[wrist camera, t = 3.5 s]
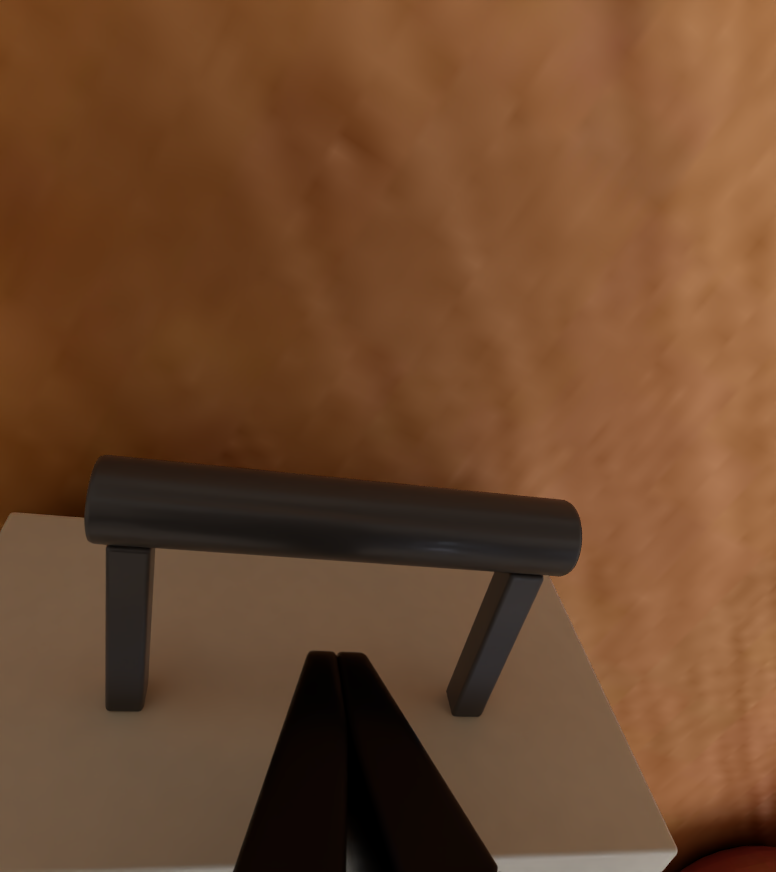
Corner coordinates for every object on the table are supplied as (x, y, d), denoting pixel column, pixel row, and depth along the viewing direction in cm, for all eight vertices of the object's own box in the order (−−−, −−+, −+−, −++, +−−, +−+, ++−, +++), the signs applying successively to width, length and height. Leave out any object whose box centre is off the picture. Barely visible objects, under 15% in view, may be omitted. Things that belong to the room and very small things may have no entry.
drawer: (-10, 299, 12) (-313, 611, 6) (611, 388, 15) (845, 660, 9) (39, 841, 21) (-57, 1179, 15) (414, 832, 24) (461, 1113, 18)
